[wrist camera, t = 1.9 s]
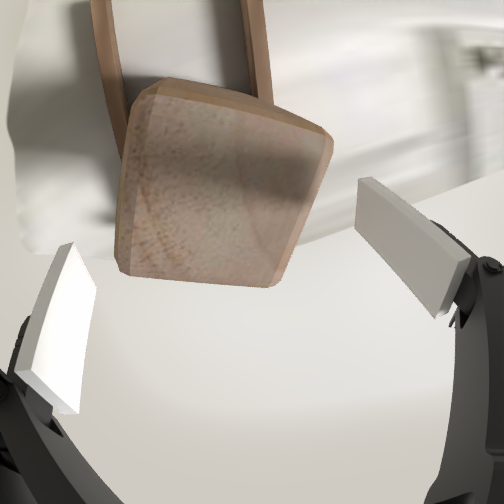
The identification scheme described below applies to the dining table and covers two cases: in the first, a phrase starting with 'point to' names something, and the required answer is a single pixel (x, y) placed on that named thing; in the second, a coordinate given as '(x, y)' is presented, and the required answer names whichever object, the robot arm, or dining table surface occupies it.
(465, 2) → the dining table surface
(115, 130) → the frame
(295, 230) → the wooden block
